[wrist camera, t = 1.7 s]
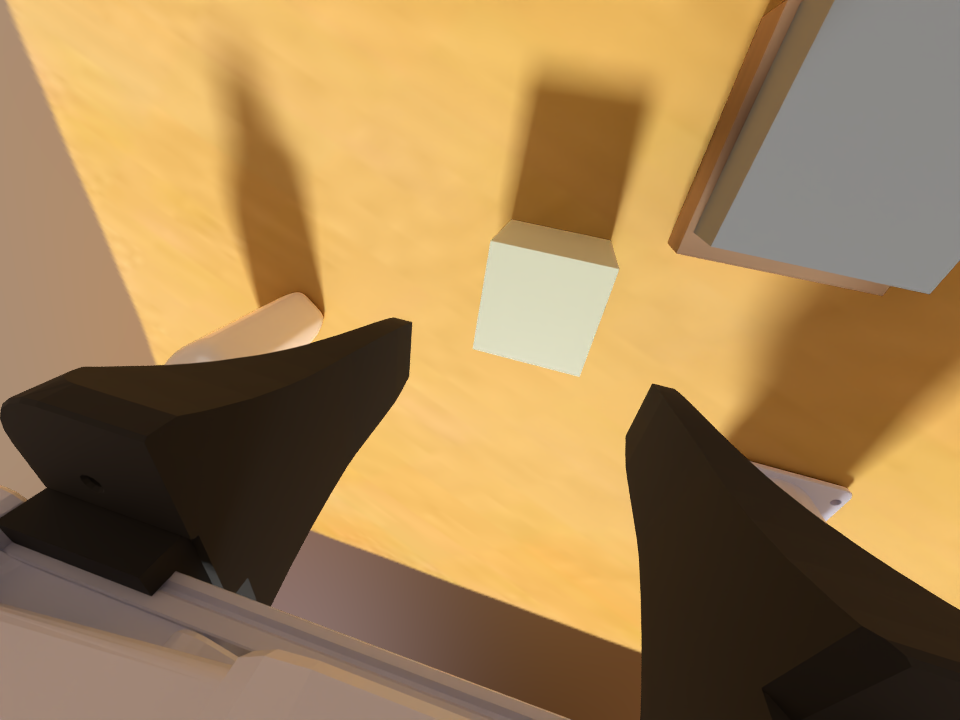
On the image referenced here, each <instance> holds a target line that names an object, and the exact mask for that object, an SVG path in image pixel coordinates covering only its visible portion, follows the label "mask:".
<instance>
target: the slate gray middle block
mask: <svg viewBox="0 0 960 720" xmlns="http://www.w3.org/2000/svg"><path fill="white" fill-rule="evenodd" d="M693 233H694V234H696V235H697V236H698V237H699V238H701V239H702V240H703V241H704V242H706V243H707V244H708V245H710V246H711V247H715V248H720V249H724V250H729V251H733V252H738V253H743V254H747V255H752V256H756V257H761V258H766V259H770V260H775V261H779V262H784V263H788V264H793V265H798V266H802V267H807V268H811V269H816V270H821V271H825V272H830V273H834V274H839V275H844V276H848V277H853V278H857V279H862V280H866V281H871V282H876V283H880V284H885V285H889V286H894V287H899V288H903V289H908V290H912V291H917V292H921V293H926V294H930V293H931V292H932V291H933V290H934V289H935V288H936V287H937V285H938V284H939V283H940V282H941V281H942V280H943V279H944V278H945V276H946V275H947V274H948V273H949V272H950V271H951V270H952V269H953V267H954V266H955V265H956V264H957V263H958V262H959V261H960V0H804V1H802V2H801V3H800V5H799V7H798V10H797V12H796V14H795V16H794V18H793V20H792V22H791V25H790V27H789V29H788V31H787V33H786V35H785V37H784V40H783V42H782V44H781V46H780V48H779V50H778V52H777V55H776V57H775V59H774V61H773V63H772V65H771V67H770V70H769V72H768V74H767V76H766V78H765V80H764V82H763V85H762V87H761V89H760V91H759V93H758V95H757V97H756V100H755V102H754V104H753V106H752V108H751V110H750V112H749V115H748V117H747V119H746V121H745V123H744V125H743V127H742V130H741V132H740V134H739V136H738V138H737V140H736V142H735V145H734V147H733V149H732V151H731V153H730V155H729V157H728V160H727V162H726V164H725V166H724V168H723V170H722V172H721V175H720V177H719V179H718V181H717V183H716V185H715V187H714V190H713V192H712V194H711V196H710V198H709V200H708V202H707V205H706V207H705V209H704V211H703V213H702V215H701V217H700V220H699V222H698V224H697V226H696V228H695V230H694V232H693Z"/></svg>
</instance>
